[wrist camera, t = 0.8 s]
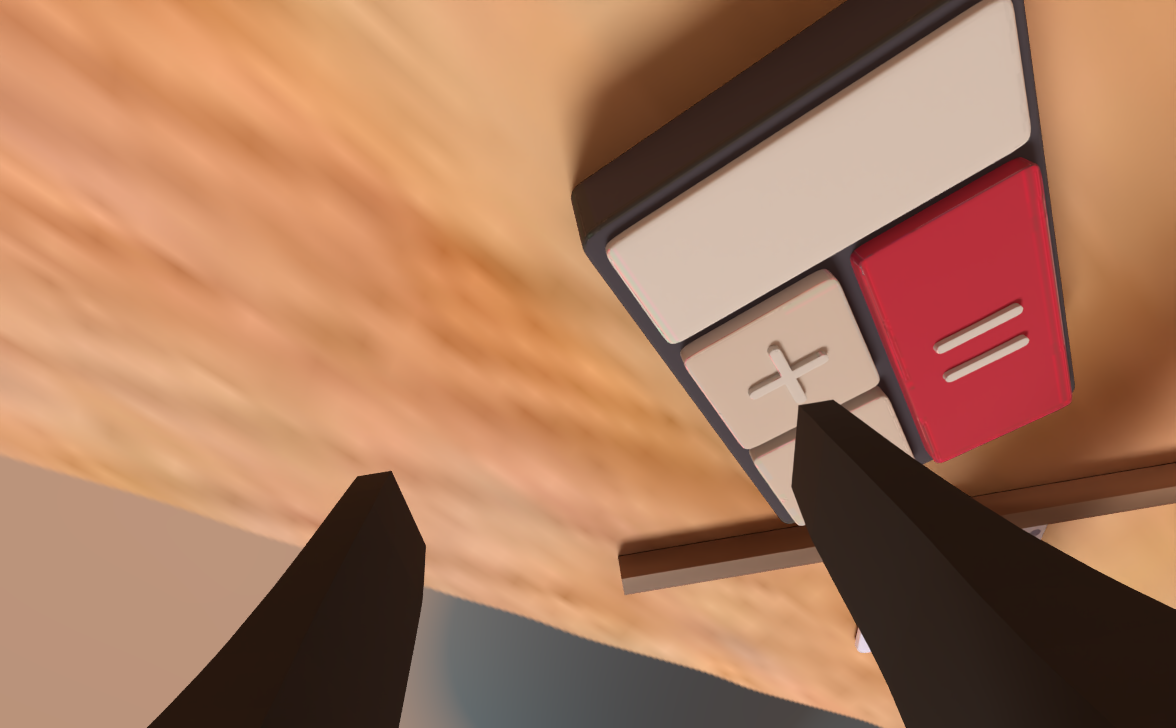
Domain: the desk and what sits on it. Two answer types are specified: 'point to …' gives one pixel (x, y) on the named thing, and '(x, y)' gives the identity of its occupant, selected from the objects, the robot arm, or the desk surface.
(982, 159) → the calculator
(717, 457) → the desk surface
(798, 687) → the desk surface
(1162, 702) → the robot arm
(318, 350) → the desk surface
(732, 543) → the track
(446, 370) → the desk surface
